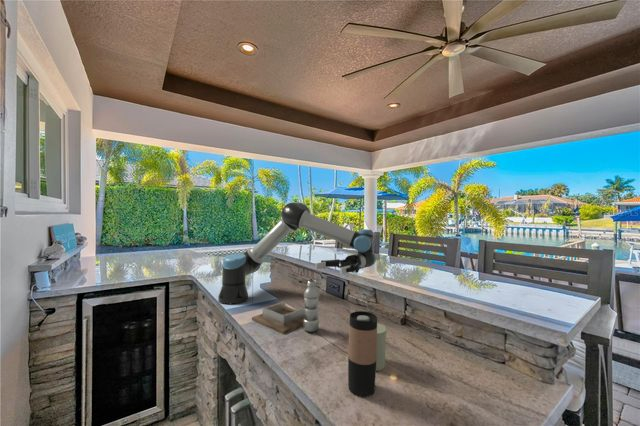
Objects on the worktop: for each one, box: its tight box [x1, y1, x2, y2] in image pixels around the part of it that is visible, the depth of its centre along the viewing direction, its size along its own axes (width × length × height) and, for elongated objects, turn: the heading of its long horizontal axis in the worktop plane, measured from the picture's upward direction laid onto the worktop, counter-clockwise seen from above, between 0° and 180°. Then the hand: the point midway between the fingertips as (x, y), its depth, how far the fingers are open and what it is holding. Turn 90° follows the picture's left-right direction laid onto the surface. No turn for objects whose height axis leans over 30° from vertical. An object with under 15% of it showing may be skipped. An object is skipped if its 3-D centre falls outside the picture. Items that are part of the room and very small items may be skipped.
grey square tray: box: [262, 300, 305, 326], centre depth 122 cm, size 13×13×4 cm
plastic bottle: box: [302, 279, 320, 333], centre depth 112 cm, size 6×7×20 cm
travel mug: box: [347, 310, 378, 398], centre depth 76 cm, size 8×8×20 cm
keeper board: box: [251, 305, 304, 335], centre depth 122 cm, size 20×20×1 cm
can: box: [376, 322, 387, 372], centre depth 89 cm, size 9×9×12 cm
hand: (327, 268), depth 119 cm, fingers open, 13 cm apart
